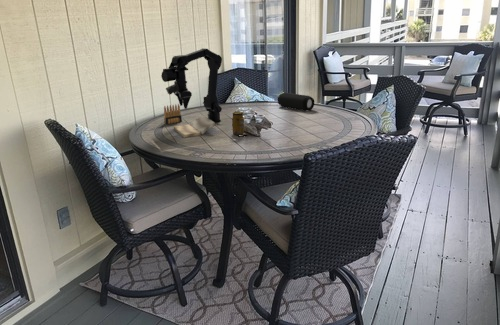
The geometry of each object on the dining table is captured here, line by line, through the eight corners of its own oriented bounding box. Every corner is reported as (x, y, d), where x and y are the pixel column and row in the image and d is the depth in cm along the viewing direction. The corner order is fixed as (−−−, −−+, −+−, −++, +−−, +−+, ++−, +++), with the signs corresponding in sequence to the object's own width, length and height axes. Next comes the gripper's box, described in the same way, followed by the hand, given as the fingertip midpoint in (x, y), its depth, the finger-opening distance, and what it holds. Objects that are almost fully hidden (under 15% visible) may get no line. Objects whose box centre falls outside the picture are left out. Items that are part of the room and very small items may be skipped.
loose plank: (202, 116, 234) (201, 114, 233) (215, 124, 217) (214, 121, 216) (190, 126, 232) (189, 124, 231) (202, 134, 215) (200, 132, 214)
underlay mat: (206, 125, 237) (206, 124, 237) (220, 134, 219) (220, 132, 218) (168, 131, 228) (168, 129, 228) (179, 140, 209) (179, 138, 209)
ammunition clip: (165, 126, 239) (163, 106, 235) (164, 125, 241) (162, 105, 237) (182, 123, 245) (180, 103, 241) (180, 122, 246) (179, 103, 242)
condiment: (241, 132, 222) (240, 110, 218) (248, 135, 215) (247, 113, 211) (229, 134, 219) (228, 112, 215) (235, 137, 212) (234, 115, 208)
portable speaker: (315, 110, 270) (315, 95, 267) (305, 112, 263) (306, 97, 260) (286, 105, 287) (286, 91, 284) (276, 107, 281) (276, 93, 277)
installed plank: (189, 127, 232) (188, 124, 231) (200, 135, 215) (200, 132, 214) (173, 129, 228) (173, 126, 228) (184, 137, 211) (184, 134, 211)
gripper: (162, 78, 229) (165, 105, 234) (170, 83, 213) (173, 112, 218) (181, 76, 233) (184, 103, 238) (190, 80, 217) (193, 109, 222)
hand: (183, 107), depth 229 cm, fingers open, 9 cm apart
